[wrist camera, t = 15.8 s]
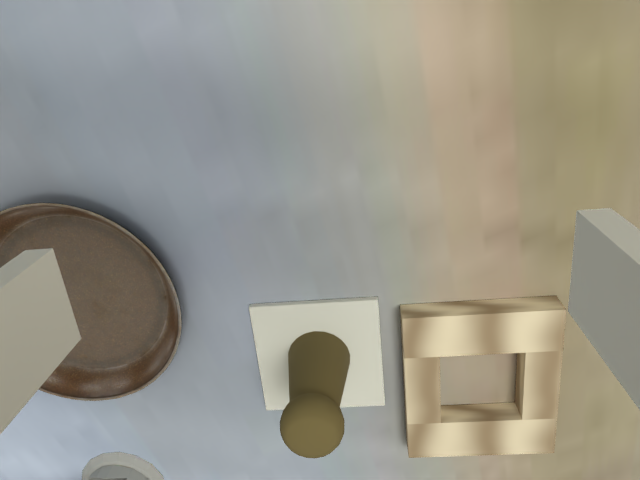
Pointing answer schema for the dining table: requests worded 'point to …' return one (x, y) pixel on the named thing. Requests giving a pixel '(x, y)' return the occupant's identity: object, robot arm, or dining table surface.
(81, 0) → the dining table surface
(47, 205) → the plant saucer
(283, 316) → the rubber mat
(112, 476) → the french press
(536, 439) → the socket block
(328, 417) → the olive peg figure
